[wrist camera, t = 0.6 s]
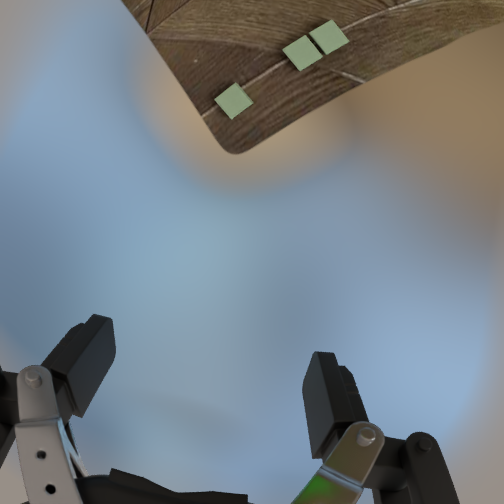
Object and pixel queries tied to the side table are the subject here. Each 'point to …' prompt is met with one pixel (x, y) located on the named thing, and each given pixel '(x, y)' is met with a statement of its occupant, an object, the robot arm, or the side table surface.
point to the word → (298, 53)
